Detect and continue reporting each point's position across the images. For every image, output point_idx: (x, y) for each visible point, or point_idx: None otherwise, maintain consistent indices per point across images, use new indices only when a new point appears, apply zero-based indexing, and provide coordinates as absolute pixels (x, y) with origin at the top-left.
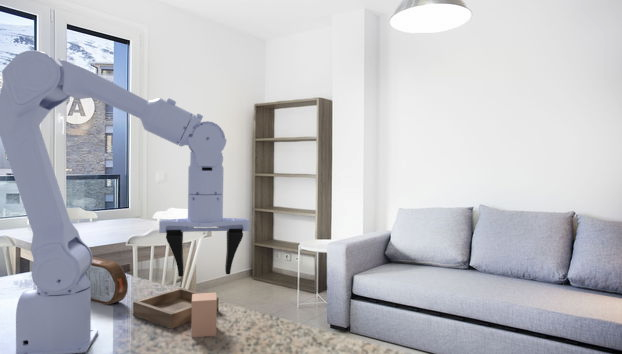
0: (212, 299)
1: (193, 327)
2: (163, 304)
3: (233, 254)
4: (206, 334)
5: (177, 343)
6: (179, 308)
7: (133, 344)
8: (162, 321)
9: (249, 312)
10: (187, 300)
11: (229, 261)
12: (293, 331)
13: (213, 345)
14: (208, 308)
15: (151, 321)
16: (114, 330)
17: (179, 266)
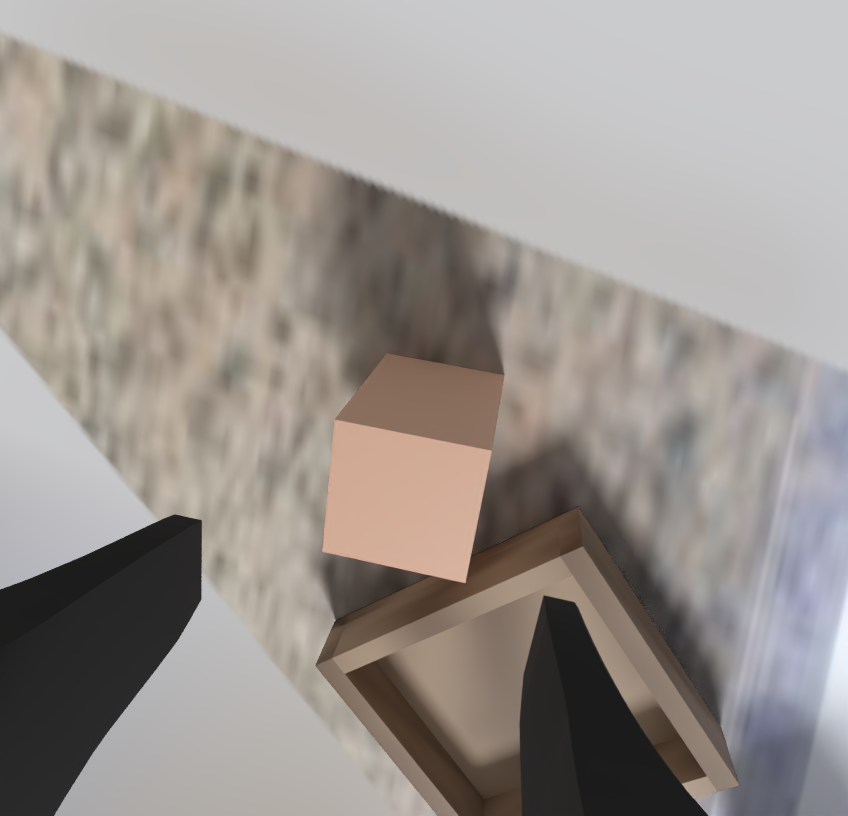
0: (359, 435)
1: (491, 388)
2: None
3: (20, 585)
4: (431, 364)
5: (580, 328)
6: (507, 692)
7: (787, 399)
8: (614, 570)
9: (202, 548)
10: (456, 764)
11: (108, 561)
12: (32, 256)
13: (418, 238)
14: (396, 409)
15: (653, 623)
16: (840, 594)
17: (581, 648)
